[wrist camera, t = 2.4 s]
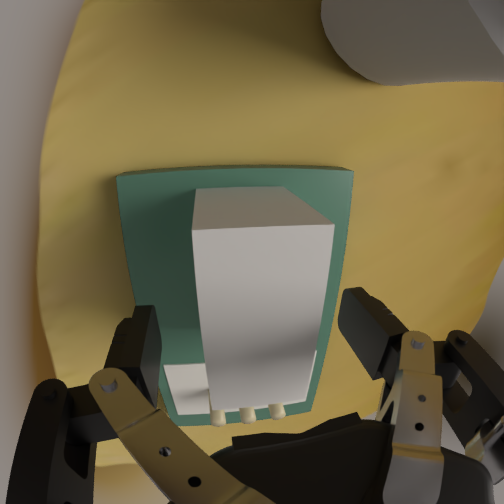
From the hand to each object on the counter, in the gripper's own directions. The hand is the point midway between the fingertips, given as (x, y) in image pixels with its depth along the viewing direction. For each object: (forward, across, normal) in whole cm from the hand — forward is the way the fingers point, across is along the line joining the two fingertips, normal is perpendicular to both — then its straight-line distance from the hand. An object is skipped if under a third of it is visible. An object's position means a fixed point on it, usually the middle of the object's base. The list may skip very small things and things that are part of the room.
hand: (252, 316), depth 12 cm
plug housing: (+4, 0, 0) cm, 4 cm away
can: (+6, -8, -14) cm, 17 cm away
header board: (+6, 0, +4) cm, 7 cm away
